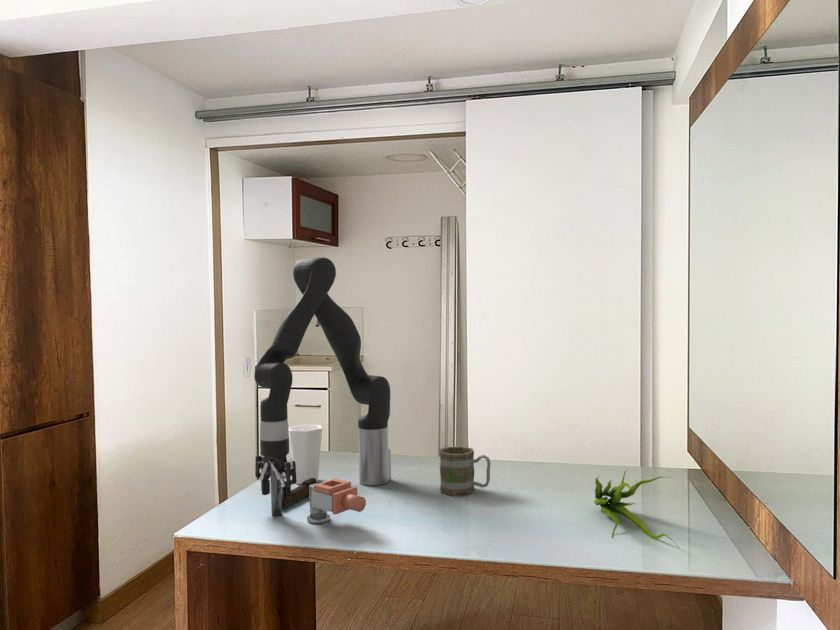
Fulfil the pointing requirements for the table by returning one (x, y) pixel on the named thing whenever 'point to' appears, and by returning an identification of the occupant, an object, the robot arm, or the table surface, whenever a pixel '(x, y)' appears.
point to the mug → (459, 471)
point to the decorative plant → (621, 503)
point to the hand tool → (299, 492)
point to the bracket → (341, 495)
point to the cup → (306, 450)
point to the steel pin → (275, 493)
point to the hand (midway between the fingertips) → (275, 497)
